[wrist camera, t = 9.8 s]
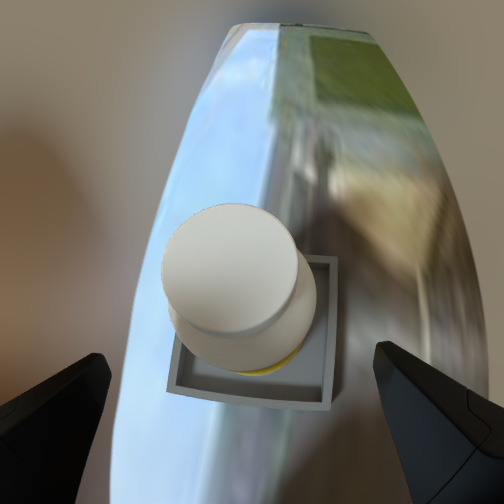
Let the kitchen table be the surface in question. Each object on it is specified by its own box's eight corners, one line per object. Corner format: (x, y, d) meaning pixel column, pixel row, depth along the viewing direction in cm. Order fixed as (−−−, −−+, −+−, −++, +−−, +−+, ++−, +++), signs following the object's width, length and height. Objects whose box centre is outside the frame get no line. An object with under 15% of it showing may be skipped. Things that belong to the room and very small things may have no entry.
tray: (326, 409, 19) (330, 411, 17) (174, 391, 20) (166, 391, 18) (333, 265, 23) (337, 256, 22) (197, 256, 25) (191, 246, 23)
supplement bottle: (320, 326, 21) (370, 252, 9) (259, 395, 19) (232, 412, 8) (253, 271, 23) (227, 155, 12) (193, 333, 22) (102, 270, 10)
